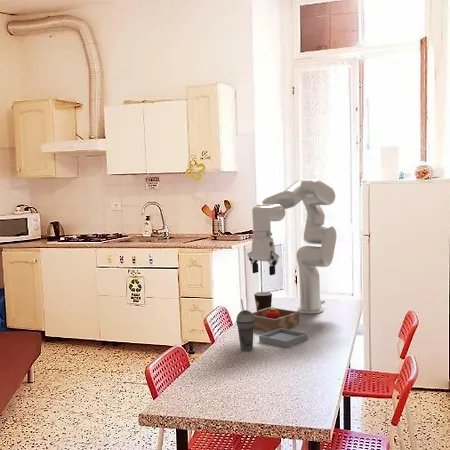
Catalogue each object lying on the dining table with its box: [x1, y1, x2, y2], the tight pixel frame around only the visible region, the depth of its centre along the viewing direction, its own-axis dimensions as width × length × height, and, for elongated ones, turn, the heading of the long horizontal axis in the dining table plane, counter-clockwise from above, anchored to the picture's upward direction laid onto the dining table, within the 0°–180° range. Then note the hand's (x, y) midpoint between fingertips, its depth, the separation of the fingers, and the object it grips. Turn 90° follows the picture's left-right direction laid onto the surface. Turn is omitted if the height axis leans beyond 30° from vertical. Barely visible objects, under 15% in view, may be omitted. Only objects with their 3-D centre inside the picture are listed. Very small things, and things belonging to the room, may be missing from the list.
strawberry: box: [266, 307, 280, 319], centre depth 262 cm, size 6×8×10 cm
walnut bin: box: [251, 306, 301, 333], centre depth 263 cm, size 17×17×6 cm
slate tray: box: [258, 328, 309, 349], centre depth 241 cm, size 14×14×2 cm
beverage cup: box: [235, 298, 255, 353], centre depth 230 cm, size 7×7×20 cm
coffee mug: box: [253, 291, 273, 311], centre depth 287 cm, size 12×9×10 cm
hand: (263, 273), depth 258 cm, fingers open, 9 cm apart
